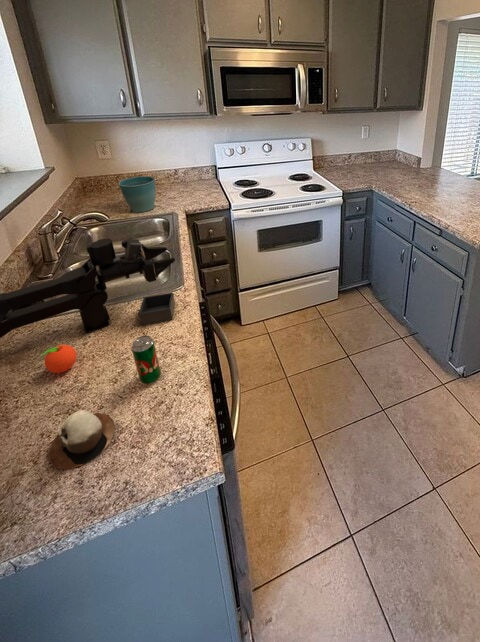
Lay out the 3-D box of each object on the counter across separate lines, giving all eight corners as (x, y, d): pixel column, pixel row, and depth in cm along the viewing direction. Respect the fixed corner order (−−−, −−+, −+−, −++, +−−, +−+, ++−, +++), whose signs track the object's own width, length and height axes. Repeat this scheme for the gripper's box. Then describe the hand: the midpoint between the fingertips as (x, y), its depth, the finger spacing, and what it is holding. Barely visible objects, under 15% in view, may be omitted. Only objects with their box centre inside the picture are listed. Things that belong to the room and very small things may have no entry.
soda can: (155, 366, 97) (147, 331, 92) (164, 376, 94) (156, 340, 89) (136, 378, 93) (126, 342, 89) (145, 388, 90) (136, 351, 86)
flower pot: (129, 218, 192) (122, 188, 186) (121, 208, 205) (115, 180, 199) (164, 209, 203) (158, 181, 197) (154, 201, 216) (149, 174, 210)
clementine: (39, 382, 92) (30, 361, 89) (50, 362, 98) (42, 342, 96) (74, 375, 94) (67, 354, 91) (83, 356, 100) (76, 336, 98)
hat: (31, 450, 75) (57, 399, 77) (79, 442, 83) (101, 397, 86) (58, 481, 69) (85, 424, 71) (107, 470, 77) (130, 419, 80)
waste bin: (141, 325, 112) (138, 314, 111) (146, 307, 120) (143, 297, 119) (172, 319, 115) (170, 308, 113) (175, 303, 123) (173, 292, 121)
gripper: (119, 258, 102) (175, 242, 111) (108, 235, 116) (158, 223, 125) (127, 290, 107) (180, 273, 115) (115, 265, 120) (164, 251, 129)
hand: (170, 253), depth 121 cm, fingers open, 9 cm apart
